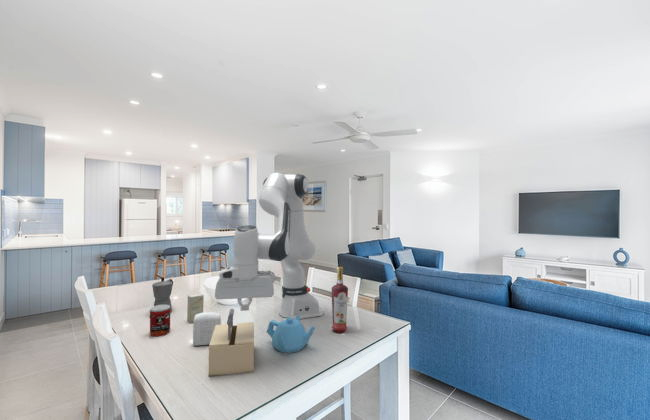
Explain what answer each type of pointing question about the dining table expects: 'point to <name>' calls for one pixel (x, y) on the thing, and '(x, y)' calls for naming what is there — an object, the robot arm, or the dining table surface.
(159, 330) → the canned food
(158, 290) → the coffeepot
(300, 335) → the teapot
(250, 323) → the carton
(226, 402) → the dining table surface
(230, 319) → the far flap
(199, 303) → the skincare box
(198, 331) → the photo printer
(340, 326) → the liquor
